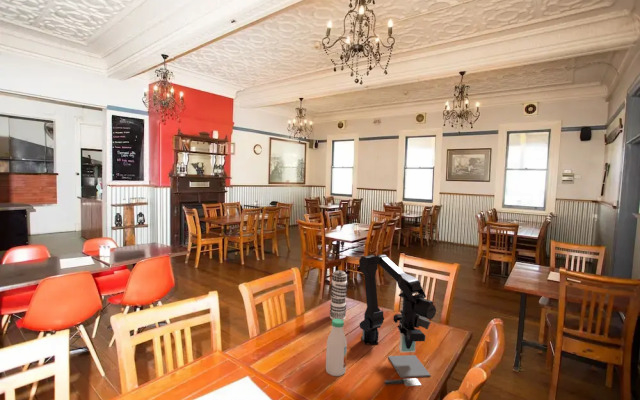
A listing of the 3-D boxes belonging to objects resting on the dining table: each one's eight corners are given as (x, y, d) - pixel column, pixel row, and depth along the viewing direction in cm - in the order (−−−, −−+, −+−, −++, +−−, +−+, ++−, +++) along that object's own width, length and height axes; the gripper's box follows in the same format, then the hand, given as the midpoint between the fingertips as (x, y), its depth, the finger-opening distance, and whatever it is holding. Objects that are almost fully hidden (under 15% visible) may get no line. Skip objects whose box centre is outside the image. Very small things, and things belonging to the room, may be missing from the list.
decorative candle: (349, 317, 176) (352, 271, 174) (339, 322, 169) (341, 275, 167) (336, 312, 182) (338, 268, 180) (325, 317, 174) (327, 271, 173)
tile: (401, 352, 132) (402, 335, 131) (399, 349, 134) (400, 333, 133) (415, 352, 132) (416, 335, 132) (412, 349, 134) (414, 333, 134)
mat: (400, 377, 124) (400, 376, 123) (388, 357, 137) (388, 356, 137) (430, 376, 125) (430, 374, 125) (415, 356, 139) (415, 355, 139)
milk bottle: (339, 379, 121) (342, 327, 120) (321, 372, 125) (324, 321, 124) (348, 369, 127) (351, 319, 126) (331, 362, 132) (334, 314, 130)
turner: (387, 387, 118) (387, 384, 118) (383, 380, 122) (383, 377, 122) (421, 385, 119) (421, 383, 119) (416, 378, 123) (416, 376, 123)
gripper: (439, 319, 124) (436, 359, 125) (418, 301, 142) (416, 335, 143) (411, 320, 122) (409, 360, 123) (394, 301, 141) (391, 336, 142)
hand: (407, 347), depth 133 cm, fingers closed on tile, 2 cm apart
